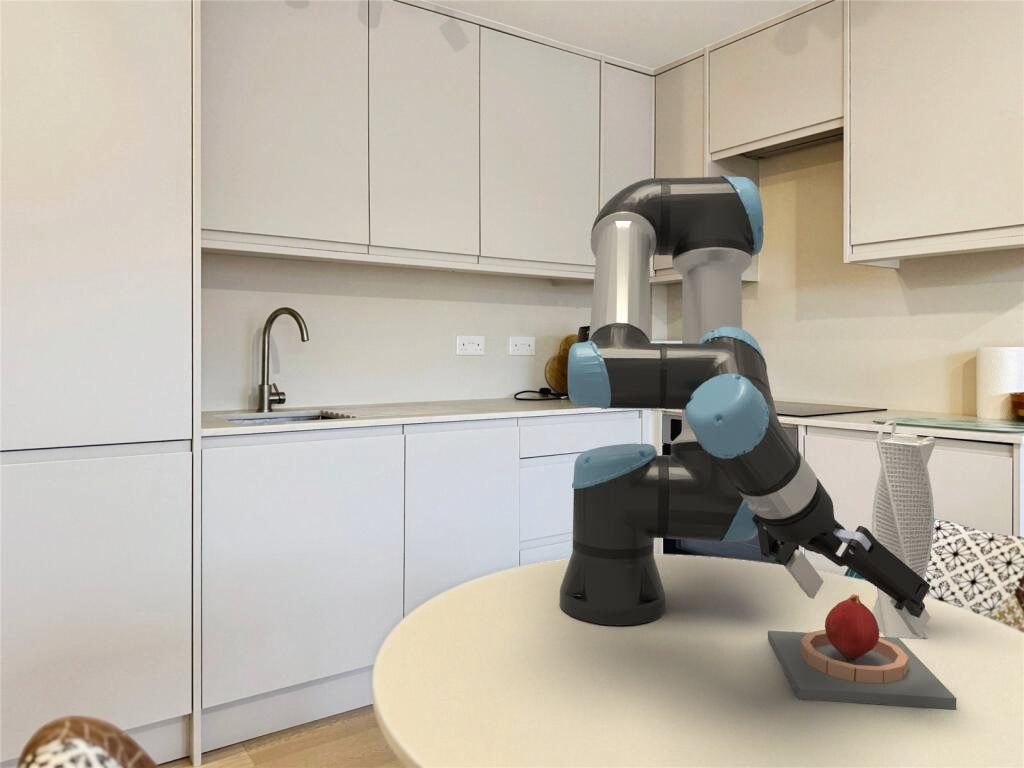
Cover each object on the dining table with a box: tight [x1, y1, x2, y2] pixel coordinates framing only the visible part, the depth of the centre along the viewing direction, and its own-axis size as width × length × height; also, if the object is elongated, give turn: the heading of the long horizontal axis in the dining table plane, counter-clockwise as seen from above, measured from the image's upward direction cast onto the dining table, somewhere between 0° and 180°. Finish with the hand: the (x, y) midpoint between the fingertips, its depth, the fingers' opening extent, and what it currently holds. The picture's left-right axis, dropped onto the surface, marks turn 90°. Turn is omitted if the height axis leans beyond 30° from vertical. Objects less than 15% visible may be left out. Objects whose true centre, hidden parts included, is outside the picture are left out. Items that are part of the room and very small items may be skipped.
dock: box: [767, 629, 957, 710], centre depth 88 cm, size 16×16×3 cm
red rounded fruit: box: [824, 594, 880, 661], centre depth 88 cm, size 6×6×8 cm
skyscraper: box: [871, 419, 936, 639], centre depth 100 cm, size 8×8×28 cm
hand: (865, 606), depth 89 cm, fingers open, 13 cm apart
